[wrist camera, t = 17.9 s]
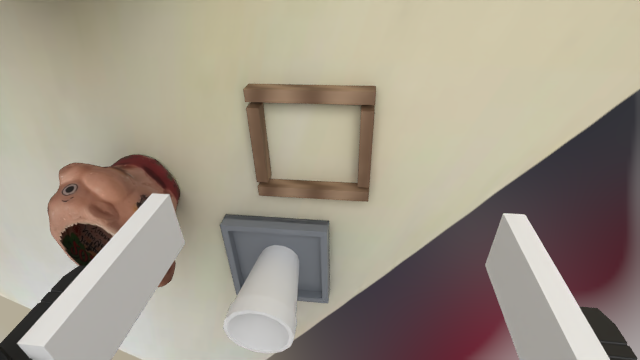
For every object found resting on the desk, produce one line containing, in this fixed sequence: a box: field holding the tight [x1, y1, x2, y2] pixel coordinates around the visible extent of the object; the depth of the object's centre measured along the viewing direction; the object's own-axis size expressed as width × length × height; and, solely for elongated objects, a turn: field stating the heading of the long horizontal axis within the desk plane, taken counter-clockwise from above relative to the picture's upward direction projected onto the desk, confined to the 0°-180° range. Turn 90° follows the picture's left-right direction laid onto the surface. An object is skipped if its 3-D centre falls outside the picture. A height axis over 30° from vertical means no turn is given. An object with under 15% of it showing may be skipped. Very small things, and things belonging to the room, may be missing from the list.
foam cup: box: [223, 245, 299, 353], centre depth 50 cm, size 10×9×13 cm
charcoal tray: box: [220, 214, 330, 303], centre depth 56 cm, size 16×16×2 cm
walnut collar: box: [243, 84, 376, 201], centre depth 44 cm, size 15×15×2 cm
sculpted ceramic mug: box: [48, 155, 180, 287], centre depth 46 cm, size 20×12×14 cm, turn 30°
